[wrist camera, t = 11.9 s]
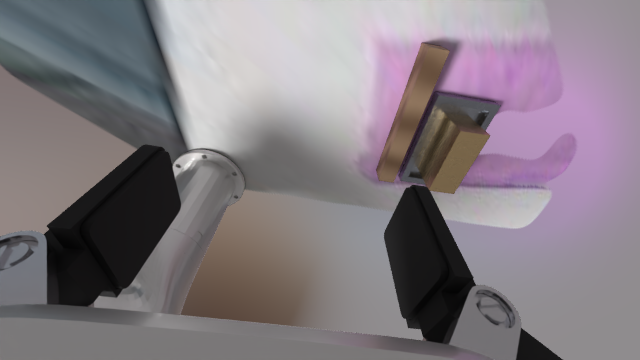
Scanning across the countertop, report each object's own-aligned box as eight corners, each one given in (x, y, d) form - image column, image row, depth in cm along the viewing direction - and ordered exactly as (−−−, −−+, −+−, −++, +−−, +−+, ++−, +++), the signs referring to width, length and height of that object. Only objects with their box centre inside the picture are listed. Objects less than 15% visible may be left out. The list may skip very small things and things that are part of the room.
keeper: (446, 182, 45) (450, 187, 44) (398, 175, 44) (400, 180, 43) (495, 101, 36) (500, 105, 34) (435, 91, 35) (438, 95, 34)
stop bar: (469, 116, 37) (490, 135, 32) (439, 170, 43) (453, 193, 38) (443, 112, 36) (460, 131, 32) (417, 167, 42) (428, 190, 38)
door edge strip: (389, 171, 44) (393, 182, 41) (376, 169, 43) (378, 180, 41) (440, 46, 31) (449, 50, 29) (421, 42, 31) (429, 47, 29)
